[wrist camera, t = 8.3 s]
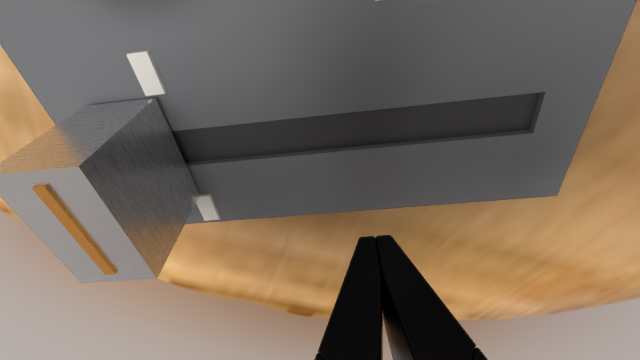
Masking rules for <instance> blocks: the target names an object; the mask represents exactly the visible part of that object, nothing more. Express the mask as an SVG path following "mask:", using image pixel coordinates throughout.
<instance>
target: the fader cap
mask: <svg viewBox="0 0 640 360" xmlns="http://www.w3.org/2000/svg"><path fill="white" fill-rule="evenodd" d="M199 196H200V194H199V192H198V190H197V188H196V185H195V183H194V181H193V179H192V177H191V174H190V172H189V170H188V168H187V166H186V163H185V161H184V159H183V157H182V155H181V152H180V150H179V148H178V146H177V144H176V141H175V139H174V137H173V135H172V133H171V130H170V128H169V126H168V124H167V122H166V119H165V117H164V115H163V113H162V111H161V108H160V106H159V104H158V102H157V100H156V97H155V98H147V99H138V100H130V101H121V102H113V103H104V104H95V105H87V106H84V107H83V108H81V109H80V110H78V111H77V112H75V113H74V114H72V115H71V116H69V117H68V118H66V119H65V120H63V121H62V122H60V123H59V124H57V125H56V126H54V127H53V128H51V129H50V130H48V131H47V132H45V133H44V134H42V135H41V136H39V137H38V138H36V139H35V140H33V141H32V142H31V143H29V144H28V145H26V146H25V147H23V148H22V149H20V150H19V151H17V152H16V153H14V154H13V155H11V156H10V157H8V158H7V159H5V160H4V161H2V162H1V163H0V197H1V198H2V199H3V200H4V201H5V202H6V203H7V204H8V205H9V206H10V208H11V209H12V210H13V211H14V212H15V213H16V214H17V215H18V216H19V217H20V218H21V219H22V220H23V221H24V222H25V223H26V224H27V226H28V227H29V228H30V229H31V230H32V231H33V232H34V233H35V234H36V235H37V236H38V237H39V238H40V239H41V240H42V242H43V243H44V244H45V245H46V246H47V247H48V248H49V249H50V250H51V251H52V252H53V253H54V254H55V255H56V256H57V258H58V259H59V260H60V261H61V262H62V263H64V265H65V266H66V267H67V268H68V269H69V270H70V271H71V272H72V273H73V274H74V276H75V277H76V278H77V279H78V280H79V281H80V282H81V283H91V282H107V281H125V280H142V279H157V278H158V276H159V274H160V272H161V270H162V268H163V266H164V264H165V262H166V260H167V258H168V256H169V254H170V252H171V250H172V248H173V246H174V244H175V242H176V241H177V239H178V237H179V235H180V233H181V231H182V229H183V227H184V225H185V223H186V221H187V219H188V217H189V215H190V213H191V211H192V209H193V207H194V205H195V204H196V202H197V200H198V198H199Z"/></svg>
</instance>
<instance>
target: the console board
mask: <svg viewBox="0 0 640 360" xmlns="http://www.w3.org/2000/svg"><path fill="white" fill-rule="evenodd" d="M636 2H637V0H0V45H1V46H2V48H3V49H4V50H5V52H6V53H7V55H8V56H9V58H10V59H11V61H12V62H13V64H14V65H15V67H16V68H17V69H18V71H19V72H20V74H21V75H22V77H23V78H24V80H25V81H26V83H27V84H28V85H29V87H30V88H31V90H32V91H33V93H34V94H35V96H36V97H37V99H38V100H39V101H40V103H41V104H42V106H43V107H44V109H45V110H46V112H47V113H48V115H49V116H50V117H51V119H52V120H53V122H54V123H55V125H57V124H59V123H60V122H62V121H63V120H65V119H66V118H68V117H69V116H71V115H72V114H74V113H75V112H77V111H78V110H80V109H81V108H83V107H84V106H87V105H95V104H104V103H113V102H121V101H130V100H138V99H147V98H155V97H156V100H157V102H158V104H159V106H160V108H161V111H162V113H163V115H164V117H165V119H166V122H167V124H168V126H169V128H170V130H171V133H172V135H173V137H174V139H175V141H176V144H177V146H178V148H179V150H180V152H181V155H182V157H183V159H184V161H185V163H186V166H187V168H188V170H189V172H190V174H191V177H192V179H193V181H194V183H195V185H196V188H197V190H198V192H199V194H200V196H199V198H198V200H197V202H196V204H195V205H194V207H193V209H192V211H191V213H190V215H189V217H188V219H187V221H186V223H185V224H191V223H204V222H217V221H230V220H243V219H257V218H270V217H283V216H296V215H309V214H322V213H336V212H349V211H362V210H375V209H388V208H402V207H415V206H428V205H441V204H454V203H467V202H481V201H494V200H507V199H520V198H533V197H547V196H557V194H558V192H559V189H560V187H561V185H562V182H563V180H564V177H565V175H566V172H567V170H568V167H569V165H570V163H571V160H572V158H573V155H574V153H575V150H576V148H577V146H578V143H579V141H580V138H581V136H582V133H583V131H584V128H585V126H586V124H587V121H588V119H589V116H590V114H591V111H592V109H593V106H594V104H595V102H596V99H597V97H598V94H599V92H600V89H601V87H602V84H603V82H604V80H605V77H606V75H607V72H608V70H609V67H610V65H611V63H612V60H613V58H614V55H615V53H616V50H617V48H618V45H619V43H620V41H621V38H622V36H623V33H624V31H625V28H626V26H627V23H628V21H629V19H630V16H631V14H632V11H633V9H634V6H635V4H636Z"/></svg>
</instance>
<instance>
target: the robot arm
mask: <svg viewBox="0 0 640 360" xmlns="http://www.w3.org/2000/svg"><path fill="white" fill-rule="evenodd" d="M382 313H383V318H382ZM383 319H384V324H385V329H386V333H387V336H388V341H389V345H390V349H391V353H392V357H393V360H487V358H486V357H485V356H484V354H483V353H482V352H481V351H480V349H479V348H475V347H476V345H475V343H474V342H473V340H472V339H471V338H470V337H469V335H468V334H467V333H466V331H465V330H464V329H463V328H462V326H461V325H460V324H459V322H458V321H457V320H456V319H455V317H454V316H453V315H452V313H451V312H450V311H449V309H448V308H447V307H446V306H445V304H444V303H443V302H442V300H441V299H440V298H439V297H438V295H437V294H436V293H435V291H434V290H433V289H432V288H431V286H430V285H429V284H428V282H427V281H426V280H425V279H424V277H423V276H422V275H421V273H420V272H419V271H418V270H417V268H416V267H415V266H414V264H413V263H412V262H411V261H410V259H409V258H408V257H407V255H406V254H405V253H404V251H403V250H402V249H401V248H400V246H399V245H398V244H397V242H396V241H395V240H394V239H393V237H392V236H390V235H383V236H377V237H376V238H375V237H373V236H368V237H360V238H359V240H358V243H357V245H356V248H355V251H354V254H353V256H352V259H351V262H350V265H349V267H348V270H347V273H346V276H345V278H344V281H343V284H342V286H341V289H340V292H339V295H338V297H337V300H336V303H335V306H334V308H333V311H332V314H331V316H330V319H329V322H328V325H327V327H326V330H325V333H324V336H323V338H322V341H321V344H320V347H319V350H318V353H317V354H316V357H315V360H383Z"/></svg>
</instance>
